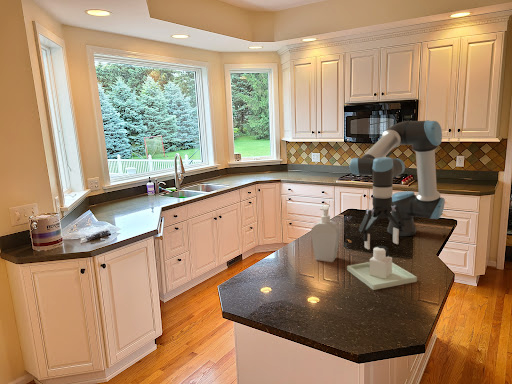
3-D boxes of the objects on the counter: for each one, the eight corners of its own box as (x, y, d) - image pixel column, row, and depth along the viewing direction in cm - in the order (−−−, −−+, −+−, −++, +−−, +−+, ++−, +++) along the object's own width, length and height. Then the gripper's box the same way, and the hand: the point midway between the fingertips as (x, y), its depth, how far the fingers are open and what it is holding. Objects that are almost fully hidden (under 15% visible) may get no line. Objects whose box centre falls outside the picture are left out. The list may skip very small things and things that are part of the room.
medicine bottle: (375, 269, 157) (376, 243, 155) (391, 273, 153) (392, 246, 150) (368, 275, 152) (369, 248, 149) (385, 279, 147) (386, 251, 145)
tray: (386, 263, 164) (386, 259, 164) (416, 281, 145) (416, 276, 145) (347, 270, 159) (347, 265, 159) (373, 289, 140) (373, 285, 140)
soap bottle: (341, 255, 176) (341, 204, 170) (336, 263, 167) (336, 209, 161) (316, 252, 181) (316, 202, 176) (310, 260, 172) (310, 207, 167)
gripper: (402, 190, 152) (401, 238, 157) (349, 197, 146) (350, 247, 150) (414, 194, 145) (413, 244, 150) (359, 201, 139) (359, 253, 143)
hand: (381, 245), depth 150 cm, fingers open, 13 cm apart
